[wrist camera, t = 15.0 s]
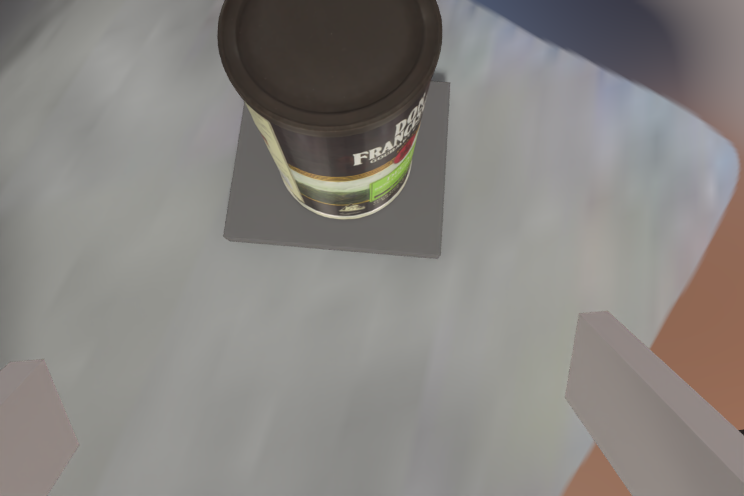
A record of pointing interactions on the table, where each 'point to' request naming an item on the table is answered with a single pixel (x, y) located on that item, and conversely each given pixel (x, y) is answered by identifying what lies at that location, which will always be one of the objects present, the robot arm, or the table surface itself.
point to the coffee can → (334, 92)
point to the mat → (367, 234)
